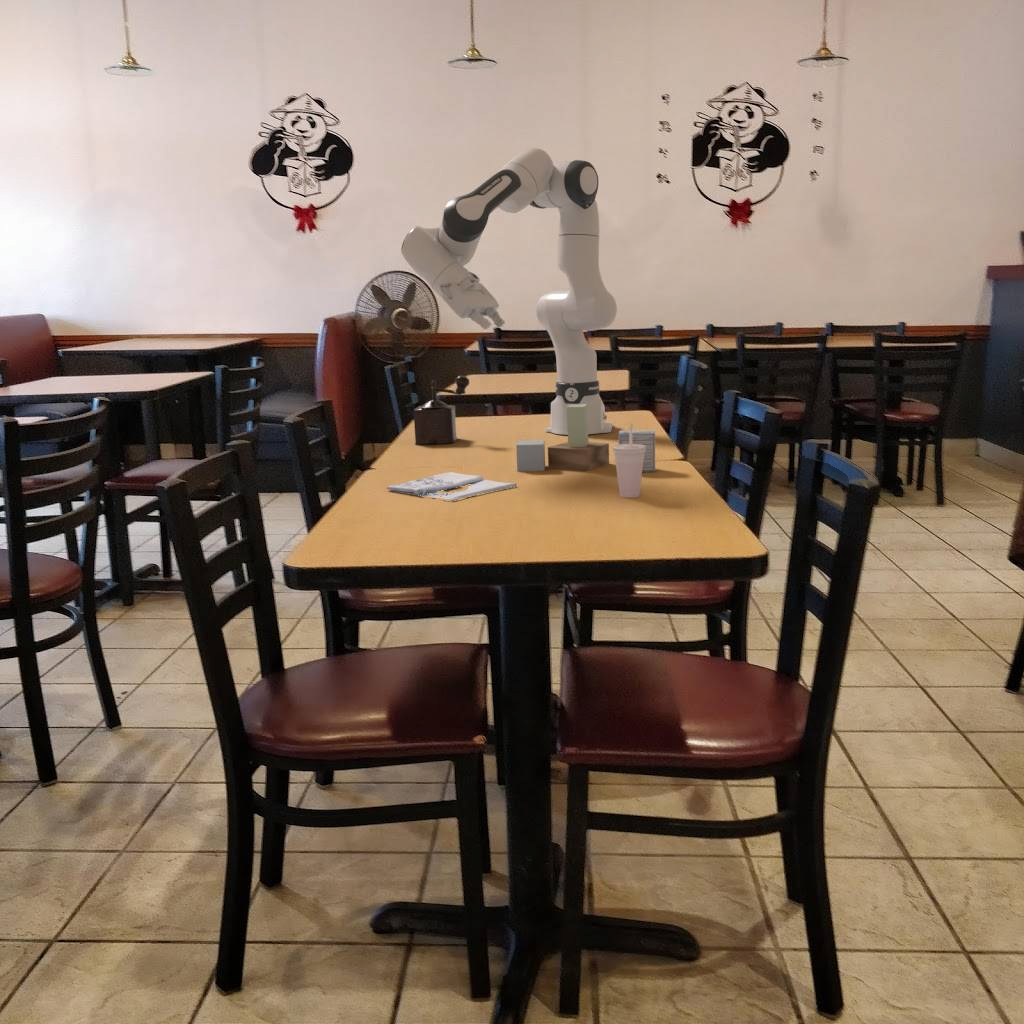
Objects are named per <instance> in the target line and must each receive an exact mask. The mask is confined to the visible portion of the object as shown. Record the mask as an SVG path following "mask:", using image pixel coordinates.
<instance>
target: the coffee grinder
mask: <svg viewBox="0 0 1024 1024" xmlns="http://www.w3.org/2000/svg"><path fill="white" fill-rule="evenodd" d="M454 381H455V384H456V388H455V390H453V389H448V388H441V387H438V386H437V385H436V383H437V382H436V381H435V380H432V381H430V382H431V383H430V384H431V386H430V389H431V393H432V394H431V395H432V397H431V400H429V401H426V402H425V403H424V404H422V405H419V406H418V407H417V406H416V408H414V409H413V420H414V423H413V424H414V426H413V427H414V436H415V437H414V439H415V440H414V442H415V443H414V445H416V446H418V445H419V446H421V445H423V446H425V445H446V444H447V445H448V444H453V443H456V441H457V428H456V424H457V423H456V406H455V405H451V404H450V405H448V404H447V403H445V402H444V401H442V400H437V395H436V394H437V392H436V391H438V392H442V393H448V394H453V395H456V396H460V395H464V394H466V389H467V387H468V386H469V385H470V379H469V378H468V377H467V376H465V375H458V376H457V377H455V380H454Z"/></svg>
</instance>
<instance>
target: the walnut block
mask: <svg viewBox="0 0 1024 1024" xmlns="http://www.w3.org/2000/svg"><path fill="white" fill-rule="evenodd" d="M547 462H548V465H547V466H548V468H550V469H561V470H570V471H581V472H587V471H590V470H594V469H597V468H601V467H604V466H606V465H609V464H610V444H609V443H608V442H596V441H595V442H593V441H588V445H587V446H586V447H568V441H566V442H563V443H559V444H555V445H552V446H548V447H547Z"/></svg>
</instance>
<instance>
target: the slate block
mask: <svg viewBox="0 0 1024 1024" xmlns="http://www.w3.org/2000/svg"><path fill="white" fill-rule="evenodd" d="M545 444H546V443H545V439H542V440H541V439H539V440H517V443H516V444H515V445H516V468H517V469H516V470H517V472H539V471H540V472H543V471H544V472H545V469H546V450H545V449H546V447H545V446H546V445H545Z"/></svg>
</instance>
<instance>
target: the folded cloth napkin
mask: <svg viewBox="0 0 1024 1024" xmlns="http://www.w3.org/2000/svg"><path fill="white" fill-rule="evenodd" d="M468 484H474V485H471V486H469V487H468V489H466V490H463V491H460V492H455V493H437V491H441V490H445V491H446V489H449V490H452V489H451V488H454V489H457V488H456V487H460V486H465V485H468ZM514 486H516V487H517V483H514V482H501V481H496V480H489V479H484V477H483V476H482V475H473V474H472V475H471V474H463V473H458V472H454V471H449V472H444V473H439V474H435V475H431V476H428V477H423V478H418V479H413V480H410V481H406V482H403V483H400V484H399V483H398V484H393V485H392V484H391V485H389V486H386V489H387V490H389V491H390V492H394V493H398V494H399V493H400V494H405V493H406V494H407V495H410V494H412V495H411V496H415V495H419V496H418V497H421V496H428V497H433V498H442V499H443V498H444V499H445V500H451V501H454V500H457V499H460V498H465V497H468V496H473V495H477V494H482V493H487V492H491V491H496V490H500V489H506V488H510V487H514ZM460 488H461V487H460ZM500 491H501V490H500ZM496 492H497V491H496ZM427 493H428V494H427ZM429 493H432V494H429ZM406 494H405V495H406ZM420 495H421V496H420ZM440 496H442V497H440Z"/></svg>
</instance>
